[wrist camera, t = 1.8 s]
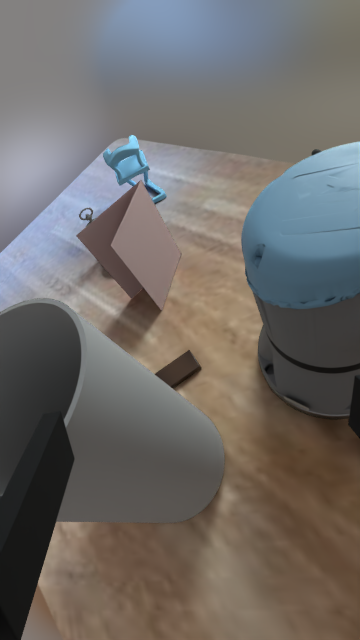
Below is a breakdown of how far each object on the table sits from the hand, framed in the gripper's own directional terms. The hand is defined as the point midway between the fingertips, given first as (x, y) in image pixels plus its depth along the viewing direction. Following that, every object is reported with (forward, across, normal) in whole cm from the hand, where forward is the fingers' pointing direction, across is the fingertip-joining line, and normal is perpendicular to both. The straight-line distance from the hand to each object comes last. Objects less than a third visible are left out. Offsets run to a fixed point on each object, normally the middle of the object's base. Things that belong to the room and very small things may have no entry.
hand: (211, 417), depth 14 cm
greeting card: (+39, -1, -5) cm, 40 cm away
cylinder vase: (+17, -3, -20) cm, 26 cm away
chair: (+61, -3, +8) cm, 62 cm away
